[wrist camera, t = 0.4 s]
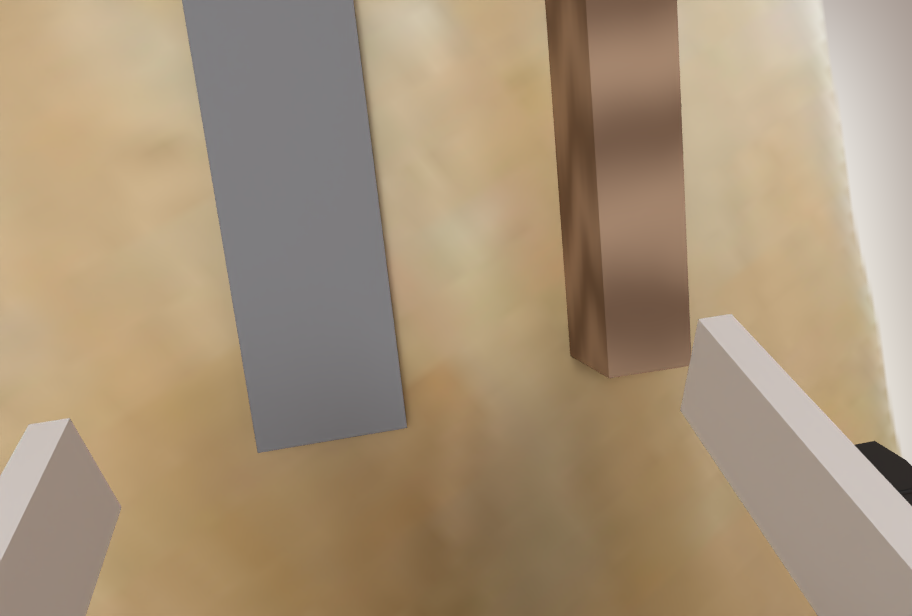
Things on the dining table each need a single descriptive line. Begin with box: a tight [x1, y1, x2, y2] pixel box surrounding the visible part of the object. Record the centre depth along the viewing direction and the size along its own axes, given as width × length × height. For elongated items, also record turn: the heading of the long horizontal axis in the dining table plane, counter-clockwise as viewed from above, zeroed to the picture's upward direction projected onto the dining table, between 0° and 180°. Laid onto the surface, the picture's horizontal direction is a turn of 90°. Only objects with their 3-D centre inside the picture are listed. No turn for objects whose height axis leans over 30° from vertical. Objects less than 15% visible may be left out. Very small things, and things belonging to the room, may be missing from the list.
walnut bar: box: [545, 0, 691, 378], centre depth 29 cm, size 20×4×5 cm, turn 6°
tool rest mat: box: [182, 0, 407, 453], centre depth 28 cm, size 24×7×1 cm, turn 6°
